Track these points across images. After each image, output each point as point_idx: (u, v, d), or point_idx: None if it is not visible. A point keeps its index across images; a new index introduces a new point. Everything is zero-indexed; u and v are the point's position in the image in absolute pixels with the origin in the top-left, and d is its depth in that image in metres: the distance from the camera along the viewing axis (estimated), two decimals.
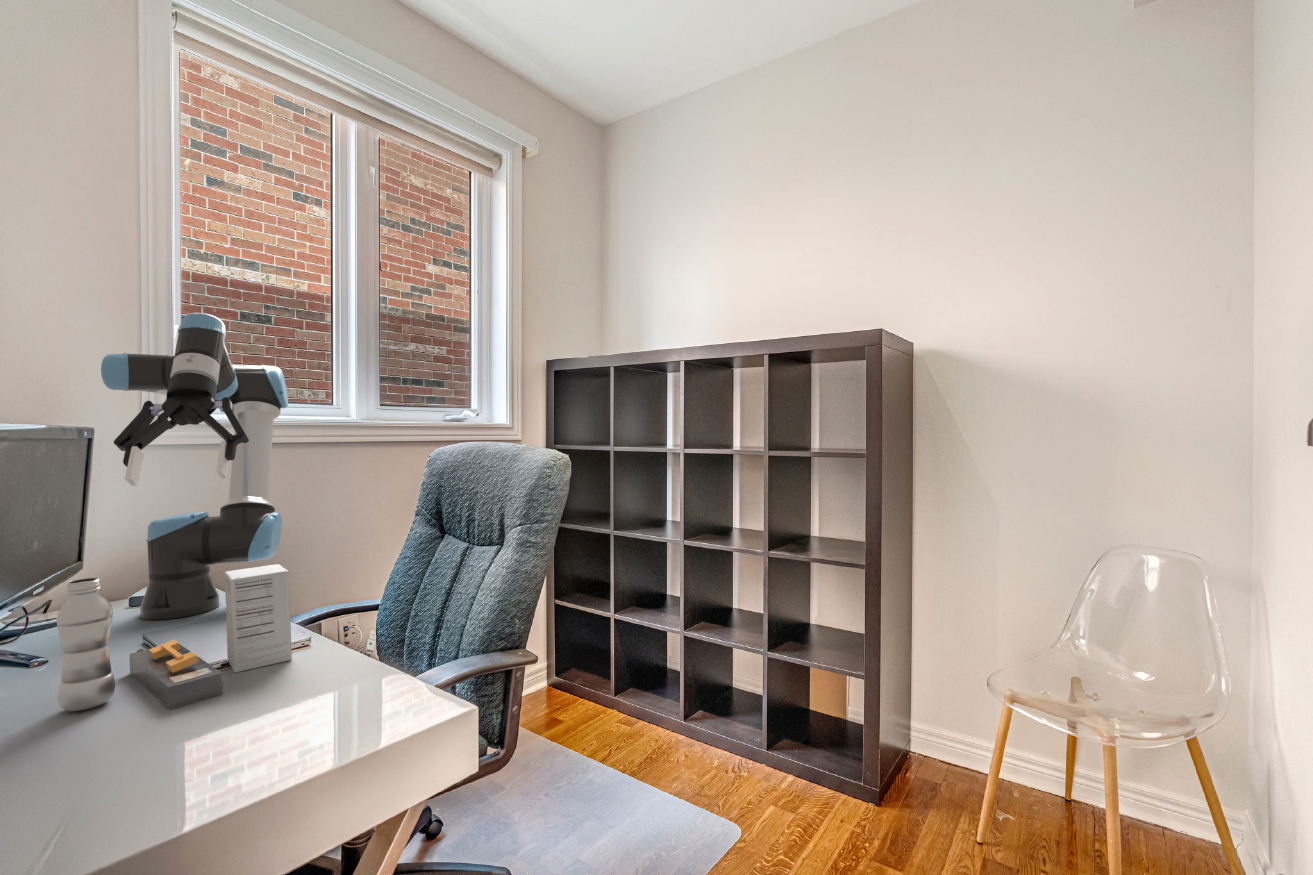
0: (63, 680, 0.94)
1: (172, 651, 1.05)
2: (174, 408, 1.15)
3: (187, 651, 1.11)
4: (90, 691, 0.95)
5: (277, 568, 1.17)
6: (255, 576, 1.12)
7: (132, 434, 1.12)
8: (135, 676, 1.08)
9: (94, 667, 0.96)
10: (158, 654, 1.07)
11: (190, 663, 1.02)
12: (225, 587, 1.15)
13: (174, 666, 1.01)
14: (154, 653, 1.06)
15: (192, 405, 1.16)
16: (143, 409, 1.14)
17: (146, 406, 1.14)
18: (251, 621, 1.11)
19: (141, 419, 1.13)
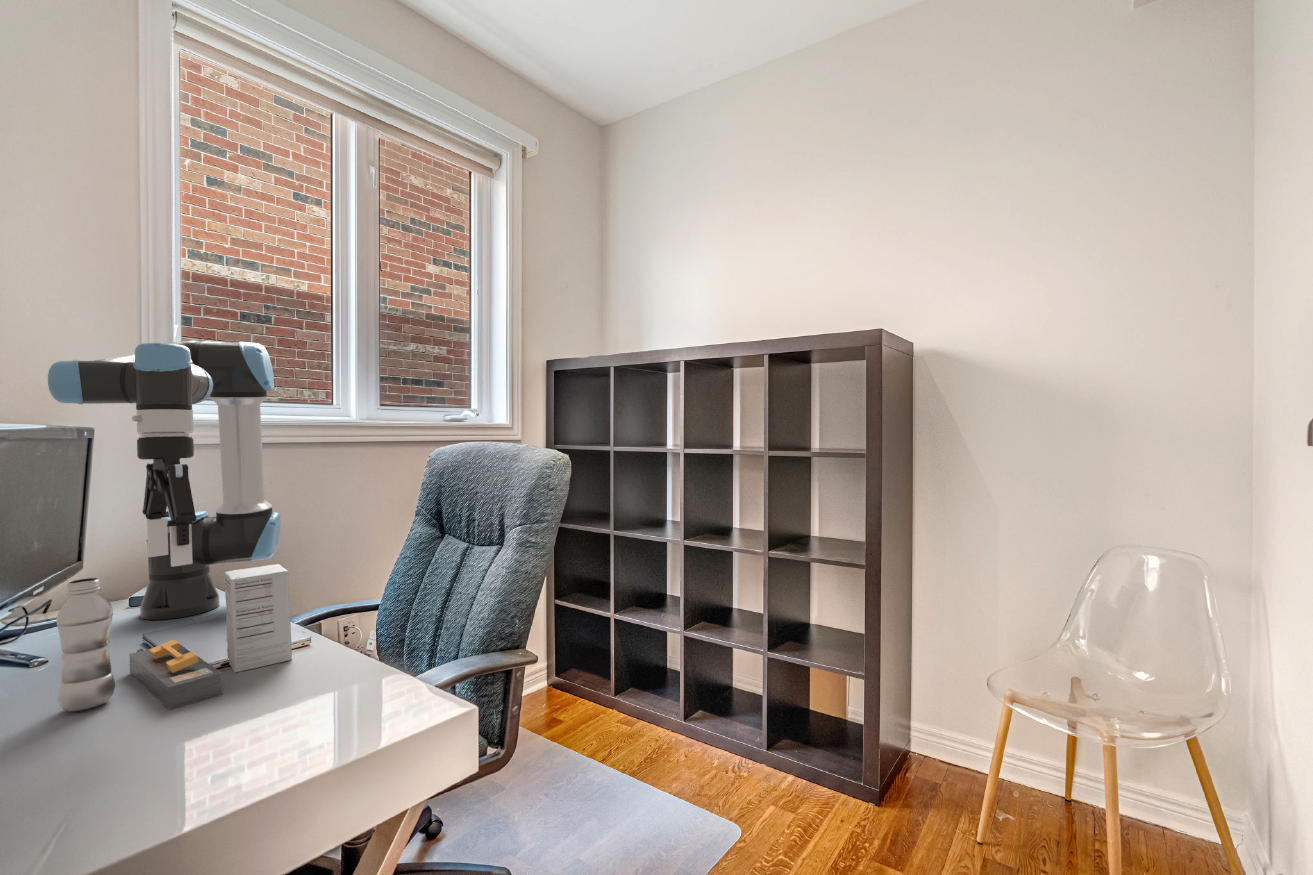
0: (63, 680, 0.94)
1: (172, 651, 1.05)
2: None
3: (187, 651, 1.11)
4: (90, 691, 0.95)
5: (277, 568, 1.17)
6: (255, 576, 1.12)
7: None
8: (135, 676, 1.08)
9: (94, 667, 0.96)
10: (158, 654, 1.07)
11: (190, 663, 1.02)
12: (225, 587, 1.15)
13: (174, 666, 1.01)
14: (154, 653, 1.06)
15: (154, 477, 1.03)
16: (147, 474, 1.08)
17: (147, 471, 1.08)
18: (251, 621, 1.11)
19: (147, 487, 1.08)
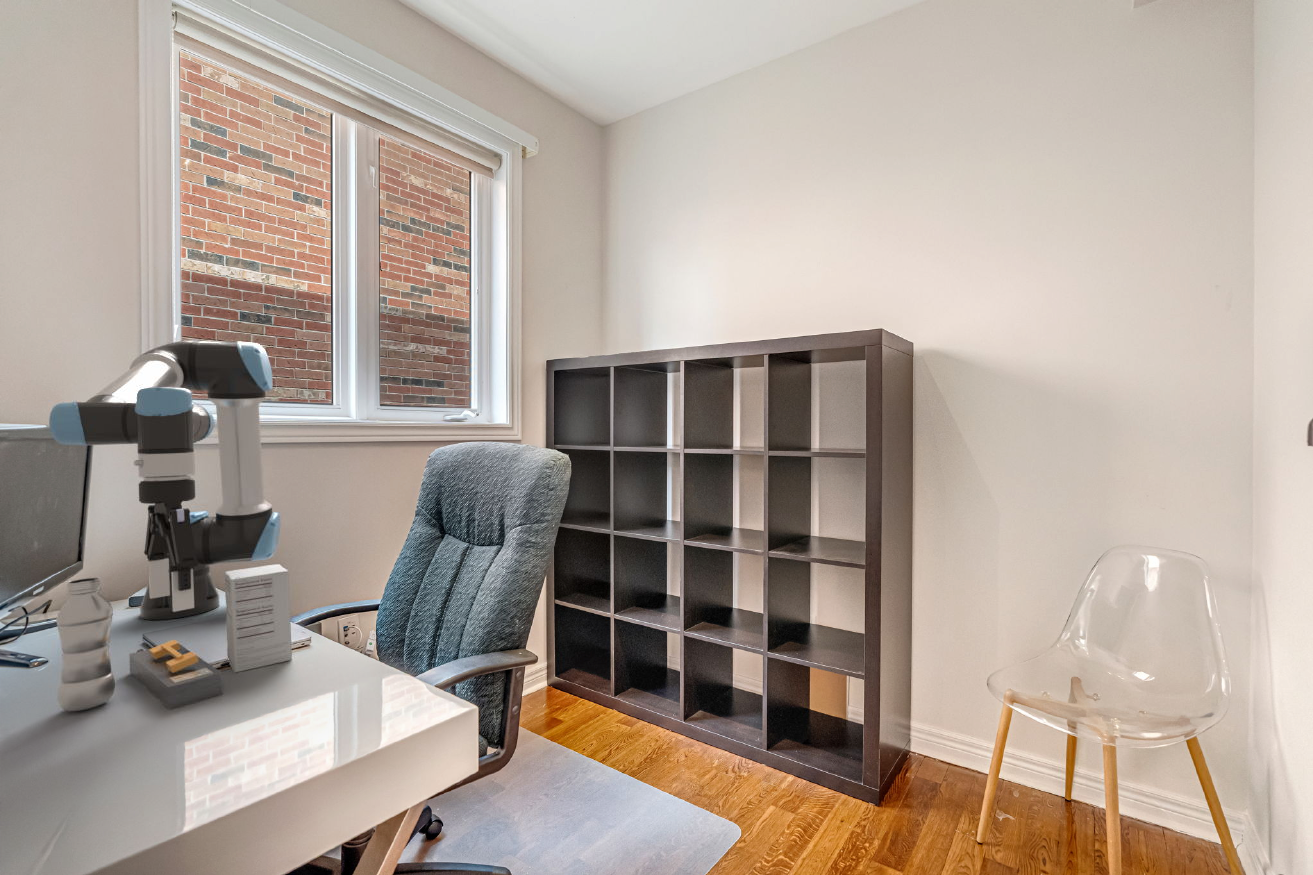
0: (63, 680, 0.94)
1: (172, 651, 1.05)
2: (152, 522, 1.05)
3: (187, 651, 1.11)
4: (90, 691, 0.95)
5: (277, 568, 1.17)
6: (255, 576, 1.12)
7: None
8: (135, 676, 1.08)
9: (94, 667, 0.96)
10: (158, 654, 1.07)
11: (190, 663, 1.02)
12: (225, 587, 1.15)
13: (174, 666, 1.01)
14: (154, 653, 1.06)
15: (156, 521, 1.03)
16: (148, 516, 1.08)
17: (149, 512, 1.08)
18: (251, 621, 1.11)
19: (149, 529, 1.08)
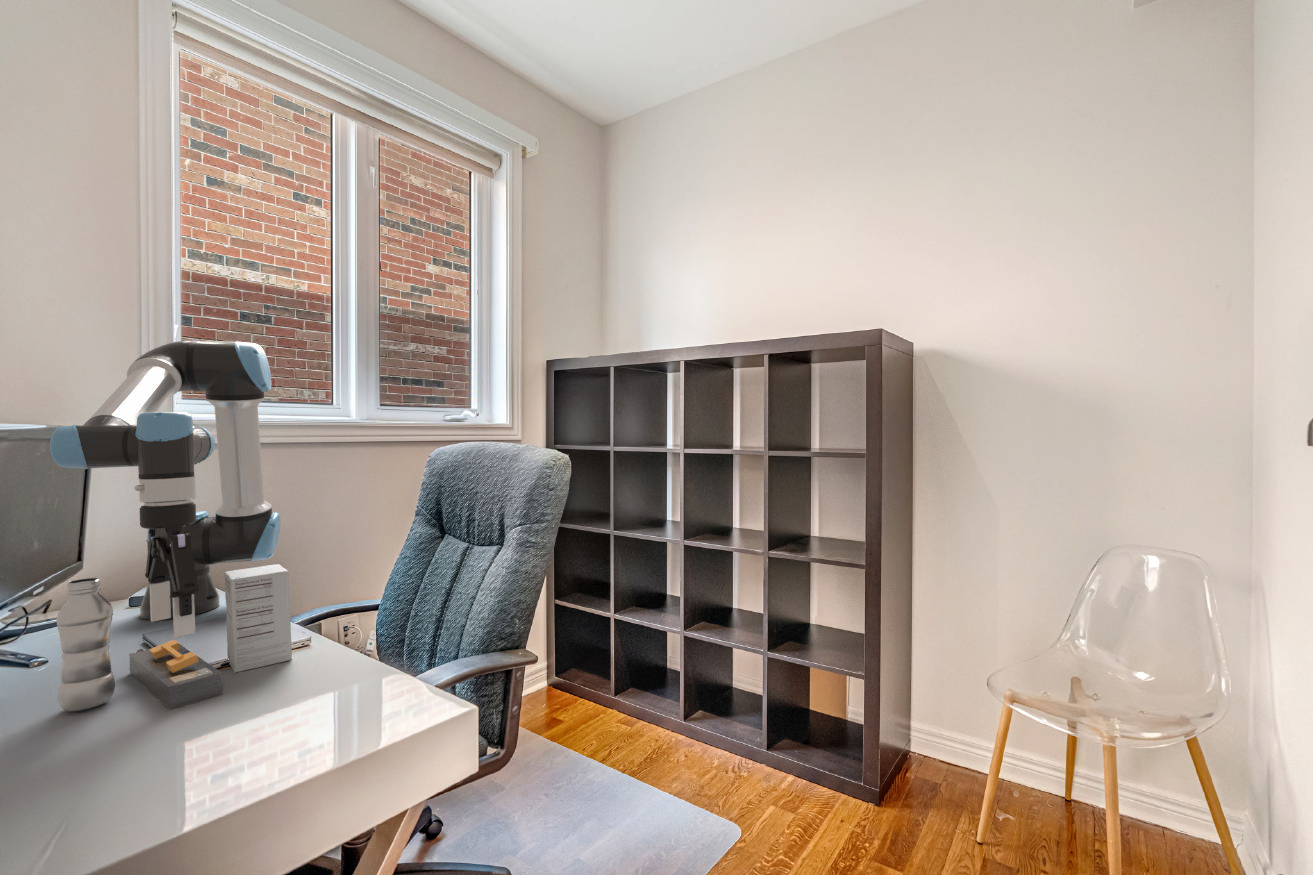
0: (63, 680, 0.94)
1: (172, 651, 1.05)
2: (153, 546, 1.05)
3: (187, 651, 1.11)
4: (90, 691, 0.95)
5: (277, 568, 1.17)
6: (255, 576, 1.12)
7: None
8: (135, 676, 1.08)
9: (94, 667, 0.96)
10: (158, 654, 1.07)
11: (190, 663, 1.02)
12: (225, 587, 1.15)
13: (174, 666, 1.01)
14: (154, 653, 1.06)
15: (157, 545, 1.03)
16: (149, 539, 1.08)
17: (149, 536, 1.08)
18: (251, 621, 1.11)
19: (150, 552, 1.08)
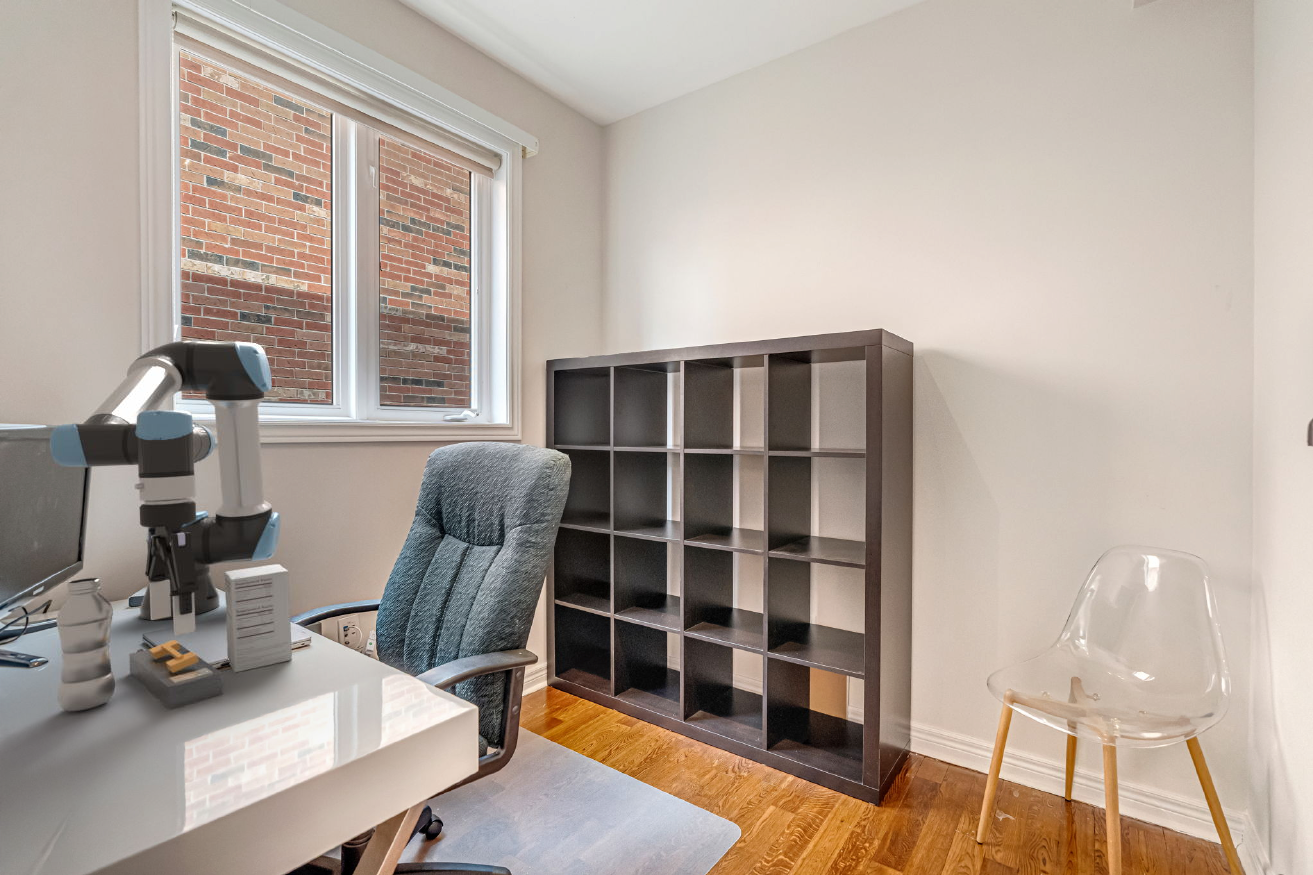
0: (63, 680, 0.94)
1: (172, 651, 1.05)
2: (153, 545, 1.05)
3: (187, 651, 1.11)
4: (90, 691, 0.95)
5: (277, 568, 1.17)
6: (255, 576, 1.12)
7: None
8: (135, 676, 1.08)
9: (94, 667, 0.96)
10: (158, 654, 1.07)
11: (190, 663, 1.02)
12: (225, 587, 1.15)
13: (174, 666, 1.01)
14: (154, 653, 1.06)
15: (157, 544, 1.03)
16: (149, 537, 1.08)
17: (149, 534, 1.08)
18: (251, 621, 1.11)
19: (150, 550, 1.08)
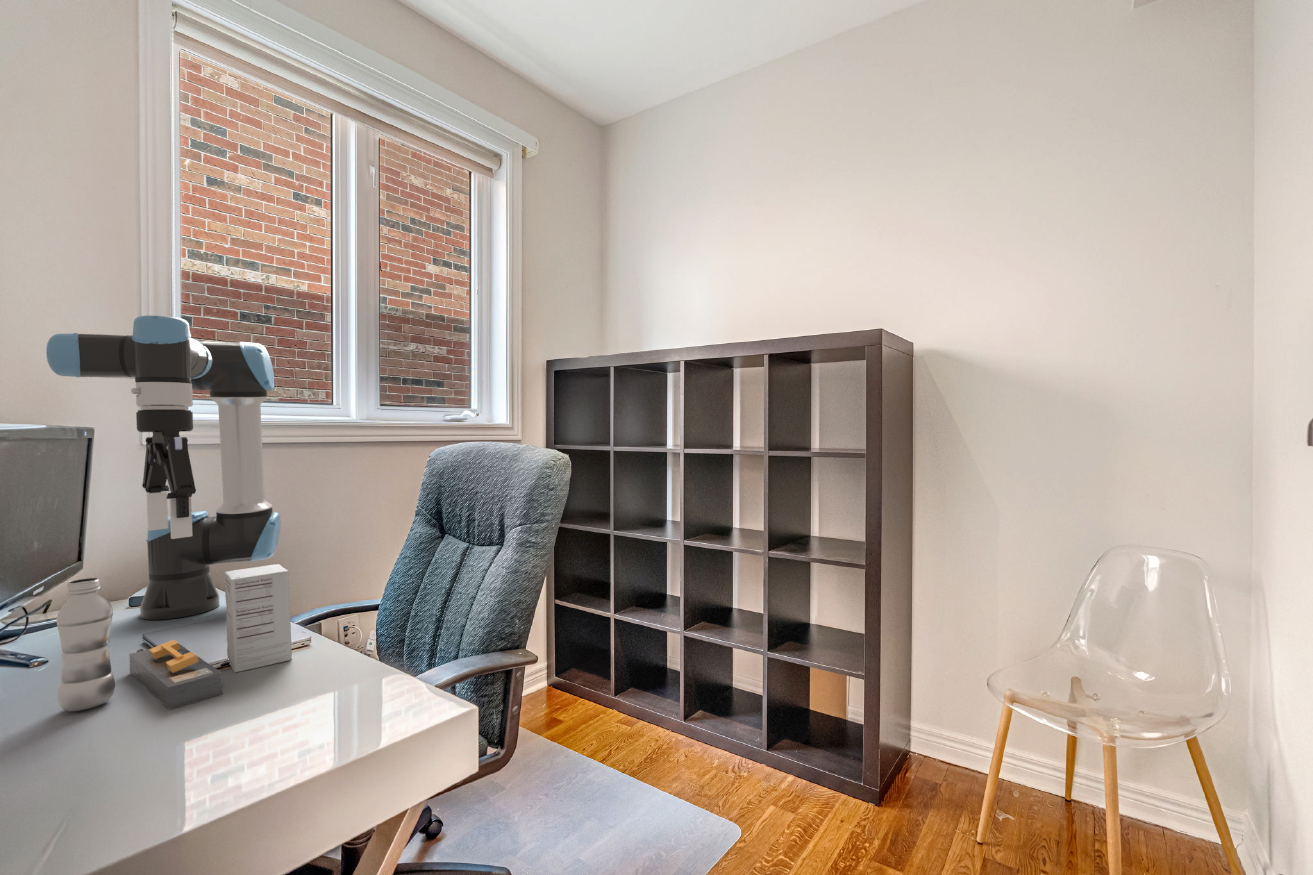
0: (63, 680, 0.94)
1: (172, 651, 1.05)
2: (150, 452, 1.04)
3: (187, 651, 1.11)
4: (90, 691, 0.95)
5: (277, 568, 1.17)
6: (255, 576, 1.12)
7: None
8: (135, 676, 1.08)
9: (94, 667, 0.96)
10: (158, 654, 1.07)
11: (190, 663, 1.02)
12: (225, 587, 1.15)
13: (174, 666, 1.01)
14: (154, 653, 1.06)
15: (154, 450, 1.03)
16: (146, 448, 1.08)
17: (146, 444, 1.08)
18: (251, 621, 1.11)
19: (147, 461, 1.08)
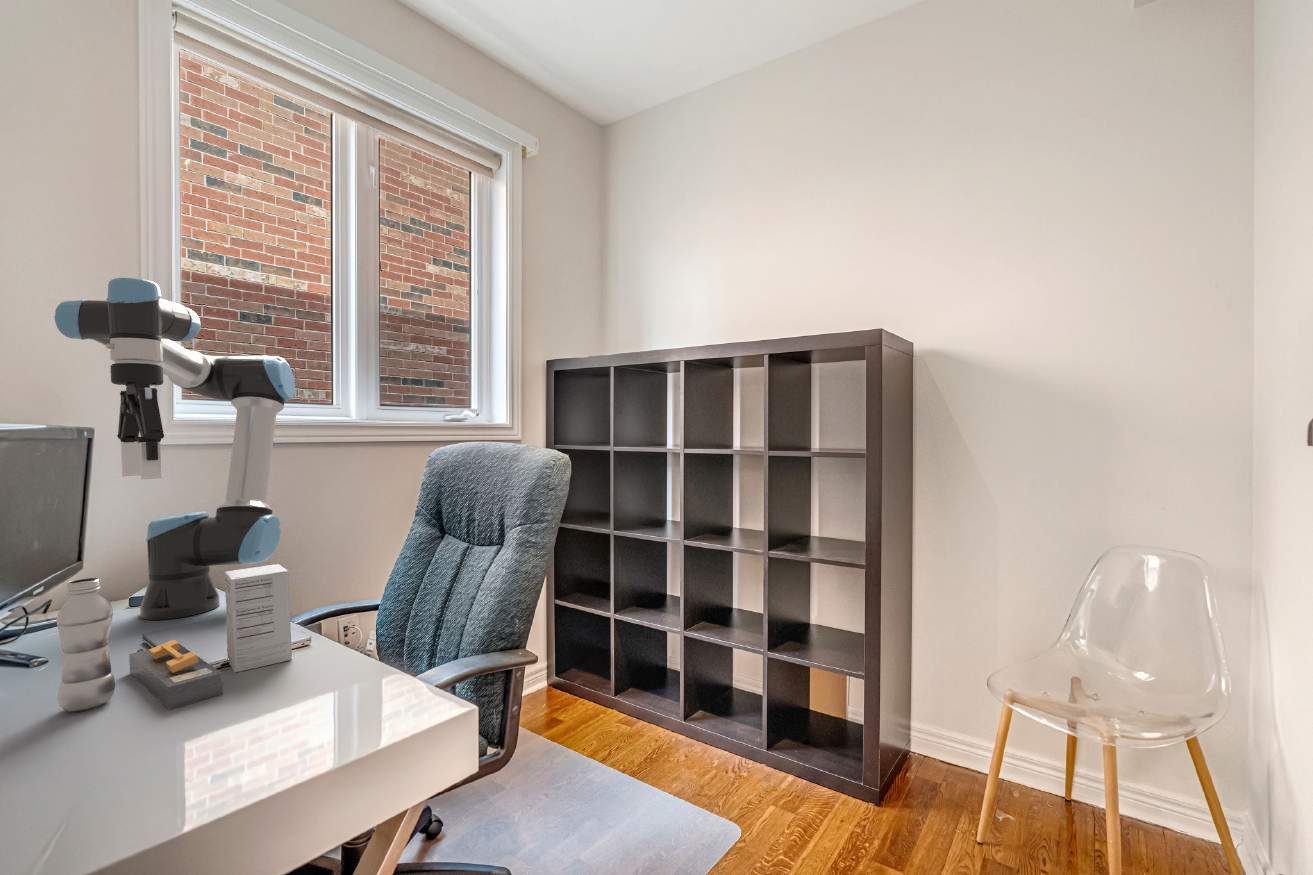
0: (63, 680, 0.94)
1: (172, 651, 1.05)
2: (123, 403, 1.15)
3: (187, 651, 1.11)
4: (90, 691, 0.95)
5: (277, 568, 1.17)
6: (255, 576, 1.12)
7: None
8: (135, 676, 1.08)
9: (94, 667, 0.96)
10: (158, 654, 1.07)
11: (190, 663, 1.02)
12: (225, 587, 1.15)
13: (174, 666, 1.01)
14: (154, 653, 1.06)
15: (126, 400, 1.13)
16: (121, 401, 1.18)
17: (121, 397, 1.18)
18: (251, 621, 1.11)
19: (121, 413, 1.18)
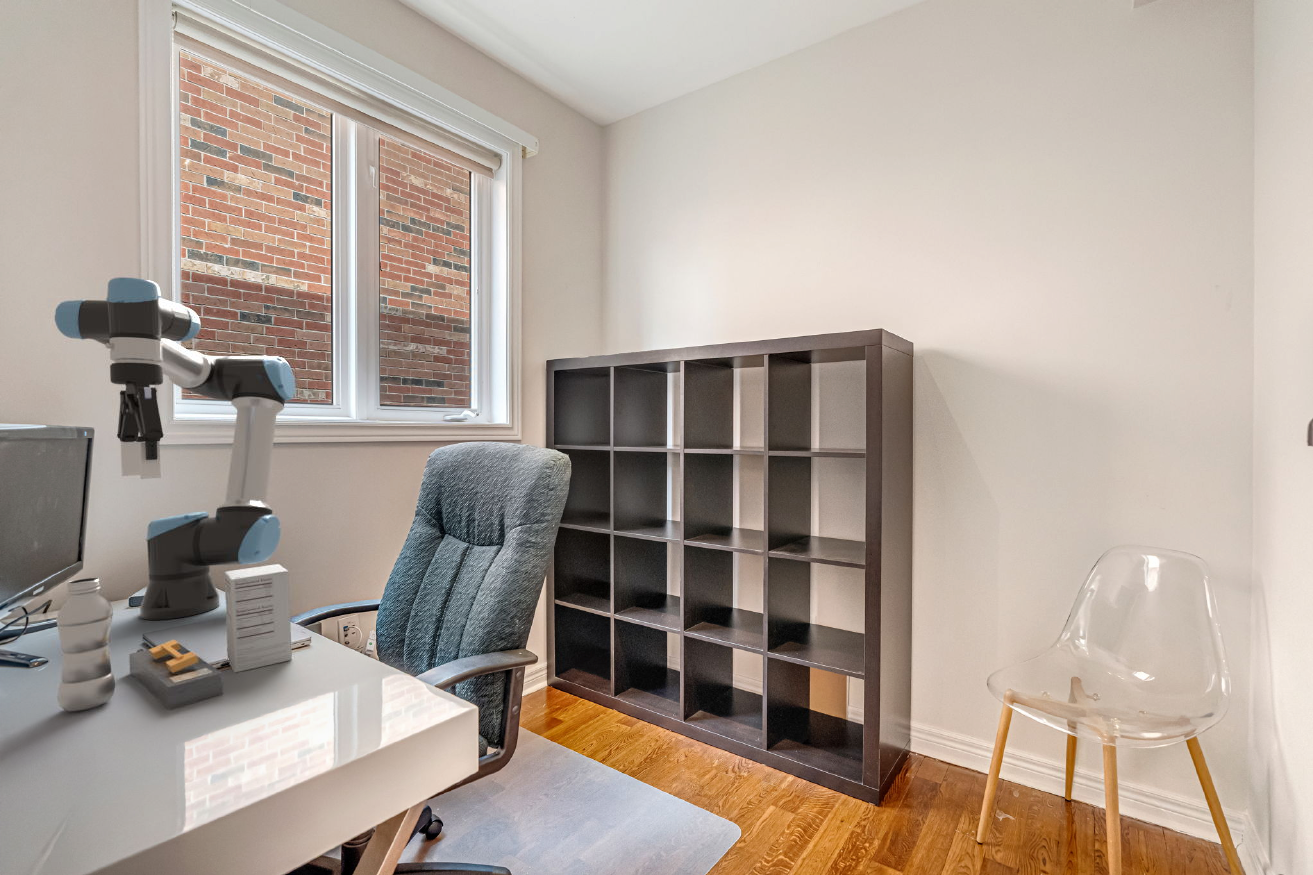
0: (63, 680, 0.94)
1: (172, 651, 1.05)
2: (122, 402, 1.15)
3: (187, 651, 1.11)
4: (90, 691, 0.95)
5: (277, 568, 1.17)
6: (255, 576, 1.12)
7: None
8: (135, 676, 1.08)
9: (94, 667, 0.96)
10: (158, 654, 1.07)
11: (190, 663, 1.02)
12: (225, 587, 1.15)
13: (174, 666, 1.01)
14: (154, 653, 1.06)
15: (126, 399, 1.13)
16: (120, 400, 1.18)
17: (120, 397, 1.18)
18: (251, 621, 1.11)
19: (121, 412, 1.18)
